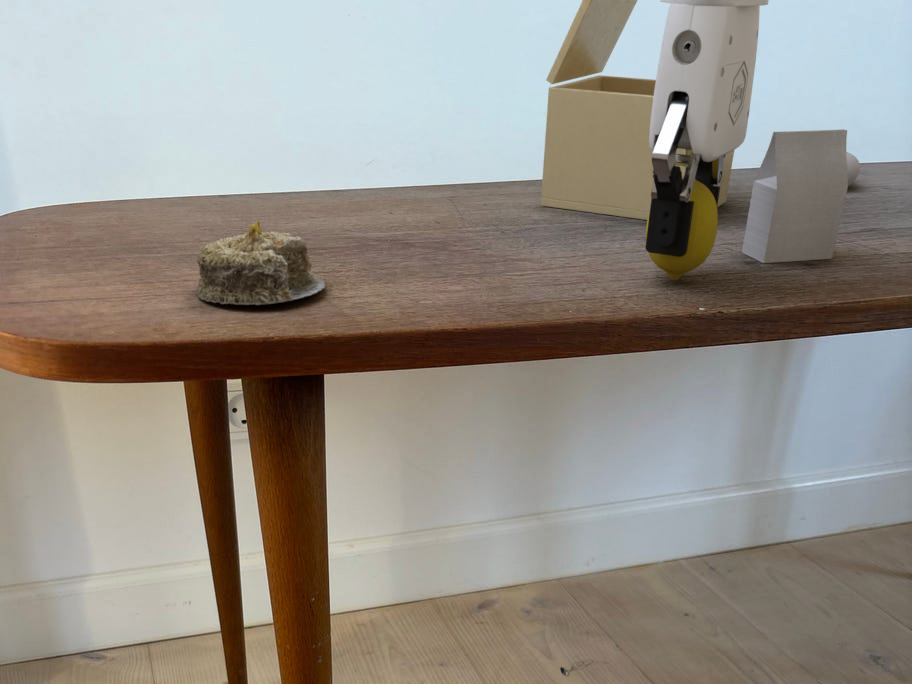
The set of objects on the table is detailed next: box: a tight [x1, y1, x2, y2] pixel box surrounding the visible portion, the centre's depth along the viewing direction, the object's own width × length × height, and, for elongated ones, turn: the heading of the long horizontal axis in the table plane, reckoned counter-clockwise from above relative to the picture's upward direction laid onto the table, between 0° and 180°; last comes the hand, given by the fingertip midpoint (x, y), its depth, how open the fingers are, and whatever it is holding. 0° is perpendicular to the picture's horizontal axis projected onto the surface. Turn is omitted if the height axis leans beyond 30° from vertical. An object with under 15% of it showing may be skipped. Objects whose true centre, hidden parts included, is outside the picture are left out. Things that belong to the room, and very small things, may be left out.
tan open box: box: [540, 74, 735, 221], centre depth 106 cm, size 16×13×11 cm
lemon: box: [645, 178, 719, 281], centre depth 84 cm, size 6×6×8 cm
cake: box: [195, 220, 326, 306], centre depth 80 cm, size 10×10×5 cm
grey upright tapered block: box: [741, 128, 849, 264], centre depth 90 cm, size 4×7×10 cm, turn 106°
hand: (679, 242), depth 84 cm, fingers open, 5 cm apart
